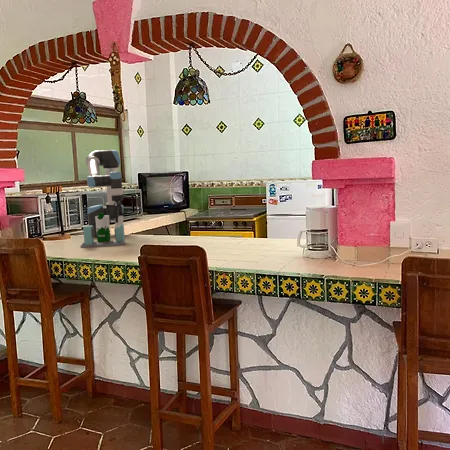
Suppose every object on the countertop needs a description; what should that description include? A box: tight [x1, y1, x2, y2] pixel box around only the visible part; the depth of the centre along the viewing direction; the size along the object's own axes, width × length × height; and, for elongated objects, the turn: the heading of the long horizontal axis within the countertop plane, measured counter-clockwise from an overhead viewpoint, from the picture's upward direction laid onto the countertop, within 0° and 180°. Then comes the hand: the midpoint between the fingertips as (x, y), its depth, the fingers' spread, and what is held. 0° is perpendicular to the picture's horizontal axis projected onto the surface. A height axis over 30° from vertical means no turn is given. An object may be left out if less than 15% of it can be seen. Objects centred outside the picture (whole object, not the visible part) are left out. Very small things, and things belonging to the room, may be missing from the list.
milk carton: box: [95, 213, 112, 243], centre depth 338 cm, size 9×9×20 cm
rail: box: [80, 239, 126, 249], centre depth 318 cm, size 7×28×3 cm, turn 92°
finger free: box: [113, 224, 126, 243], centre depth 326 cm, size 5×6×12 cm
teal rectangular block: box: [82, 225, 95, 245], centre depth 317 cm, size 5×6×12 cm
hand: (119, 226), depth 325 cm, fingers open, 13 cm apart
